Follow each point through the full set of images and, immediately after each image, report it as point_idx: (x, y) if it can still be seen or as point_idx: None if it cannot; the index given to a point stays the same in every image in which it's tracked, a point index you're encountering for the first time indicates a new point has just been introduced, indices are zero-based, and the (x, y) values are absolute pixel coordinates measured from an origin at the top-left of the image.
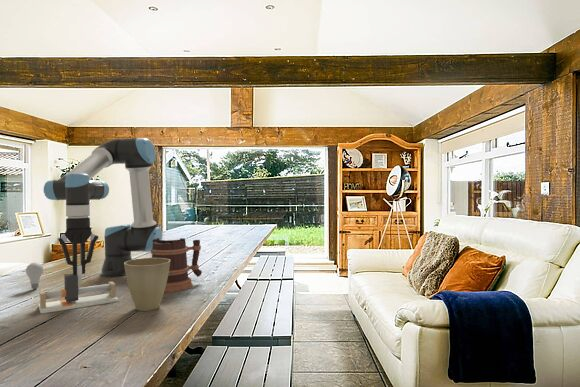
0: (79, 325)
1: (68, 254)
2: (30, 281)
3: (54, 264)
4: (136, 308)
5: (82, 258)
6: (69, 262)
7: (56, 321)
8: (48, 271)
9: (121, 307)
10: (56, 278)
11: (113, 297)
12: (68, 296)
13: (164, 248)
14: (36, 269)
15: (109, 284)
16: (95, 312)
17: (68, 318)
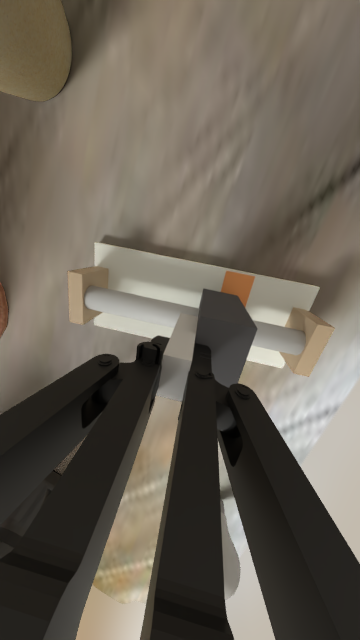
0: None
1: (269, 472)
2: (226, 524)
3: (128, 596)
4: (70, 39)
5: (142, 389)
6: (245, 394)
7: (337, 132)
8: (150, 572)
9: (109, 147)
10: (154, 531)
11: (103, 267)
12: (234, 299)
13: None
14: None
15: (87, 294)
16: (195, 151)
17: (291, 142)
